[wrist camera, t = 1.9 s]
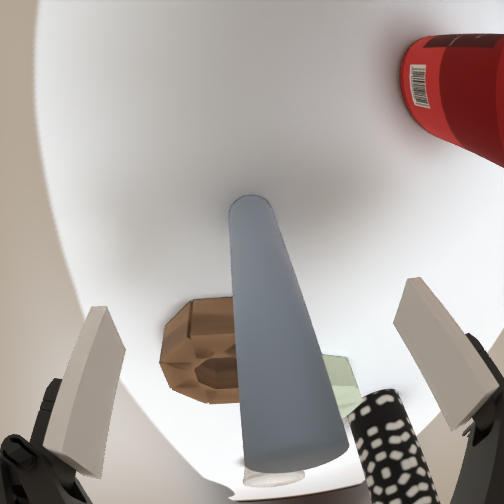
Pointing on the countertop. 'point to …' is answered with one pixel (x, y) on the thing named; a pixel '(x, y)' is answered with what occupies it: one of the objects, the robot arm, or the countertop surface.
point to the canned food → (458, 90)
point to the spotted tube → (390, 451)
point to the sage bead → (343, 384)
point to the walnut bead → (202, 352)
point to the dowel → (277, 352)
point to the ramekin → (270, 478)
